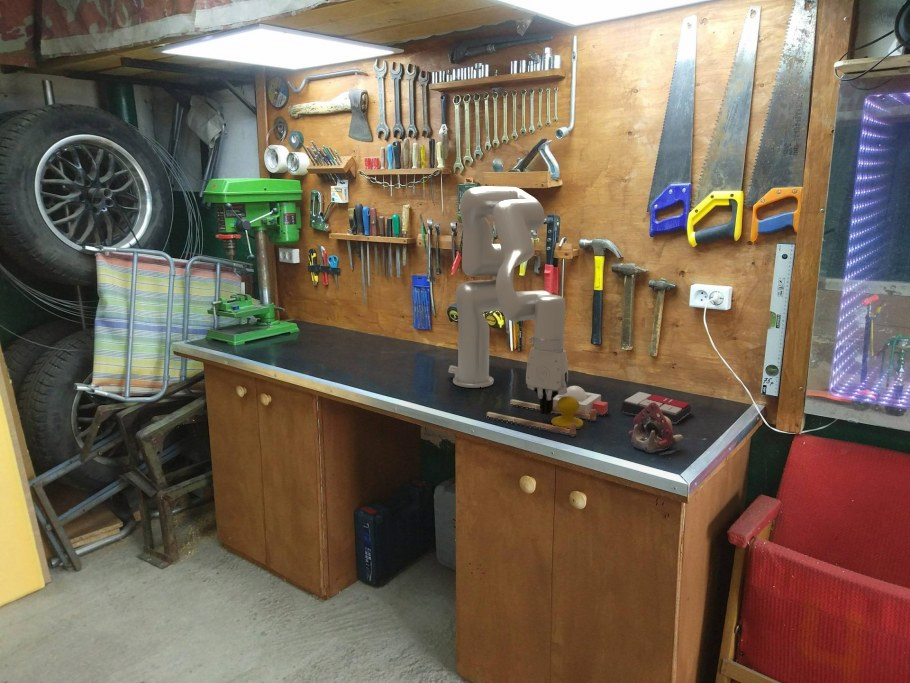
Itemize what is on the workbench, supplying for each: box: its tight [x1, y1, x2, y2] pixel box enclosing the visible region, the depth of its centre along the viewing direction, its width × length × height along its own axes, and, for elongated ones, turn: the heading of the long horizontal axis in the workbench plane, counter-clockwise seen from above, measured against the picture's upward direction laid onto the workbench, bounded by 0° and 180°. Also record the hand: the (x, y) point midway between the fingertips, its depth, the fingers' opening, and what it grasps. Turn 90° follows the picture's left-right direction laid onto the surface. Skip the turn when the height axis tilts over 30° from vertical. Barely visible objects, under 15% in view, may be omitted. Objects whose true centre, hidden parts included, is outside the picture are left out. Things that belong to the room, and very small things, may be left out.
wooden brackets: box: [486, 399, 597, 435], centre depth 175 cm, size 25×15×3 cm, turn 57°
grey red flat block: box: [620, 391, 691, 422], centre depth 180 cm, size 11×4×15 cm
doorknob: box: [550, 396, 584, 428], centre depth 170 cm, size 8×8×8 cm
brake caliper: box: [628, 402, 684, 450], centre depth 157 cm, size 11×11×12 cm
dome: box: [563, 385, 586, 402], centre depth 183 cm, size 6×6×6 cm
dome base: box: [553, 391, 609, 414], centre depth 182 cm, size 14×11×4 cm
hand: (546, 412), depth 174 cm, fingers closed
